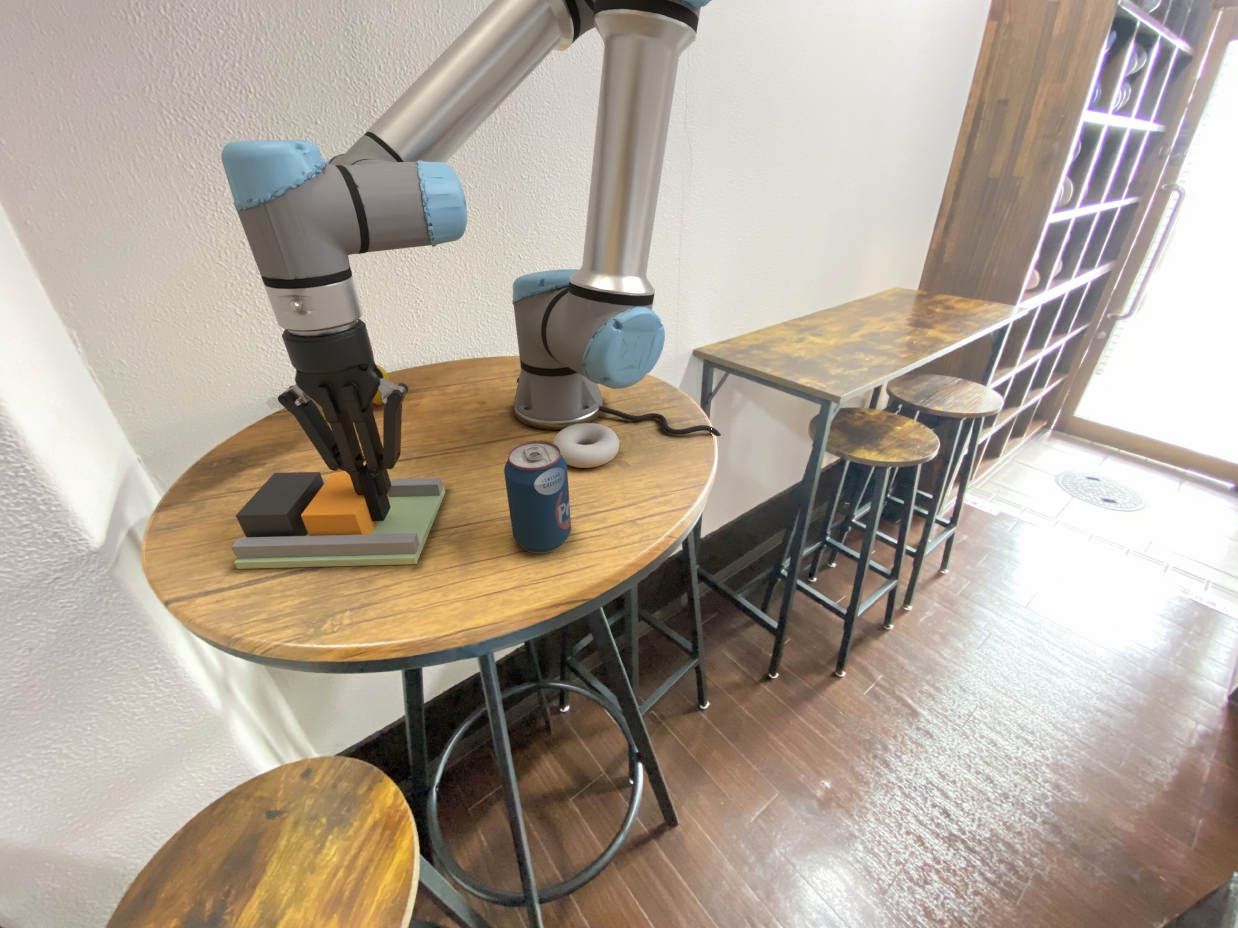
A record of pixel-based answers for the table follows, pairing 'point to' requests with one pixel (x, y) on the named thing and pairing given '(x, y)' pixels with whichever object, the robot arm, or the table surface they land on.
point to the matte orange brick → (338, 509)
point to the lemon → (377, 398)
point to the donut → (591, 455)
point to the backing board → (287, 543)
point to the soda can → (538, 496)
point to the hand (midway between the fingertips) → (381, 514)
